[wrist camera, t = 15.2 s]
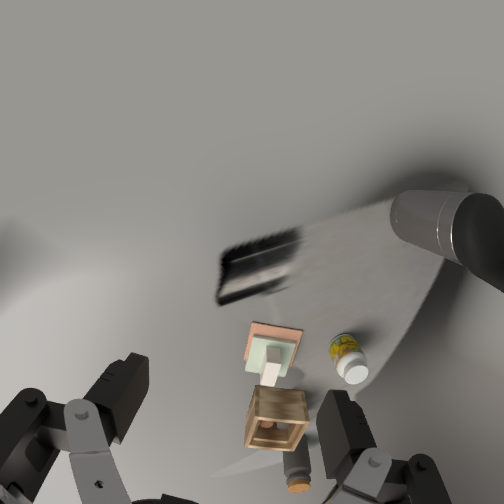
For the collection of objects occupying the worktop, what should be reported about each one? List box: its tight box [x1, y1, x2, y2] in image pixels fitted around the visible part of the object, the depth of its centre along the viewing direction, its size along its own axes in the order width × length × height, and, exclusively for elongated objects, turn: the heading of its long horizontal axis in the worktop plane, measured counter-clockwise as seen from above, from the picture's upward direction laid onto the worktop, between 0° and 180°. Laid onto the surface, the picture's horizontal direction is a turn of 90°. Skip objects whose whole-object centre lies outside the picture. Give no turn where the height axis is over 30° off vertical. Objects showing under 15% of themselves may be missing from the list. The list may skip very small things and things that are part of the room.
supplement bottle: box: [329, 334, 368, 384], centre depth 42 cm, size 5×5×10 cm
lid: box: [245, 334, 296, 387], centre depth 45 cm, size 8×8×6 cm
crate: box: [244, 385, 310, 451], centre depth 46 cm, size 10×10×9 cm
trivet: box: [244, 322, 303, 367], centre depth 47 cm, size 9×8×1 cm
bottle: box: [283, 435, 311, 493], centre depth 46 cm, size 6×6×15 cm
